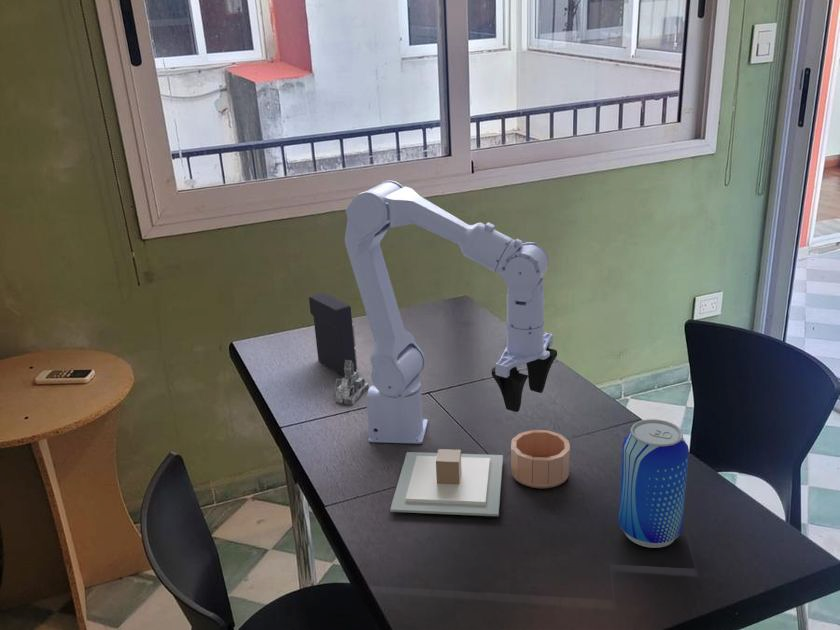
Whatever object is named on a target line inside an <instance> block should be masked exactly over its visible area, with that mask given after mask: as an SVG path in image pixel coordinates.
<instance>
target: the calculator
mask: <svg viewBox="0 0 840 630" xmlns="http://www.w3.org/2000/svg"><path fill="white" fill-rule="evenodd" d="M308 301H309V310H310V311H309V312H310V314H311V316H313V317H312V318H313V324H314V332H315V333H314V334H315V342H316V350H317V351H316V353H317V361H318V362H320V363H321V364H322V365H324V366H326V367H327V368H329V369H331V370H332V371H334V372H336V373H337V374H339V375H340V376H342V378H344V377H345V370H344V366H345V360H351V361H352V363H353V365H354V366H353V368H354V372H357V373H358V371H357V370H358V356H357V350H356V348H355V347H356V336H355V326H354V325H353V324H354V321H353V312H352V306H351V305H349V304H347V303H345V302H343V301H341V300H339V299H337V298H335V297H334V296H331V295H329V294H327V293H325V292H322V293H319V294H315V295H311V296H308Z"/></svg>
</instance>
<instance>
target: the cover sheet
mask: <svg viewBox="0 0 840 630" xmlns="http://www.w3.org/2000/svg"><path fill="white" fill-rule="evenodd" d="M436 453H437V456H417V457H416V461H415V464H414V468H413V472H412V476H411V479H410V483H409V487H408V491H407V494H406V498H405V501H406V502H418V503H441V504H465V505H486V496H487V487H488V477H489V467H490V458H471V457H461V454H462V451H461V449H448V448H447V449H446V448H444V449H443V448H438V450H437V452H436Z"/></svg>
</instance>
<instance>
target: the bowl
mask: <svg viewBox="0 0 840 630" xmlns="http://www.w3.org/2000/svg"><path fill="white" fill-rule="evenodd" d="M510 443H511V444H510V461H511V462H510V466H511V467H510V470H511V475H512V478H513V479H514V480H515V481H517V483H519V484H521V485H522V486H526V487H528V488H534V489H550V488H555V487H558V486H560V485H562V484H564V483H565V482H566V481H567V480H568V478H569V476H570V464H571V463H570V460H571V459H570V458H571V453H570V452H571V447H570V441H569V440H568V439H567V438H566V437H565V436H563V435H562V434H561V433H558V432H555V431H551V430H547V429H545V430H544V429H543V430H542V429H531V430H528V431H527V430H526V431H523V432H520V433H518V434H517V435H515V436H514V437H513V438H512V439H511V442H510Z"/></svg>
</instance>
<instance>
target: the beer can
mask: <svg viewBox="0 0 840 630" xmlns="http://www.w3.org/2000/svg"><path fill="white" fill-rule="evenodd" d="M621 452H622V454H621V456H622V457H621V471H620V472H621V473H620V487H619V488H620V490H619V491H620V493H619V509H618V524H619V527H620V529H621V530H622V532H623V533H624V534H625V536H626V537H627V538H628V539H629V541H631V542H633V543H634V544H636V545H638V546H642V547H646V548H650V549H651V548H653V549H655V548H663V547H667V546H669V545H671V544H672V543H674V541H675V540H676V539H677V538H678V537H680V535H681V534H682V532H683V524H684V523H683V521H684V513H685V512H684V511H685V502H686V501H685V499H686V488H687V478H688V477H687V476H688V468H689V466H688V465H689V456H690V454H689V453H690V448H689V445H688V444H687V442H686V439H684V432H683V431H682V429H681V428H680V427H679V426H678V425H676V424H674V423H673V422H670V421H667V420H663V419H653V418H652V419H651V418H650V419H649V418H648V419H642V420H640V421H637V422H635V423H633V425H632V426H631V428H630V431H629V433H628V434H627V435H626V437H625V438H624V439H623V442H622V451H621Z"/></svg>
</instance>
